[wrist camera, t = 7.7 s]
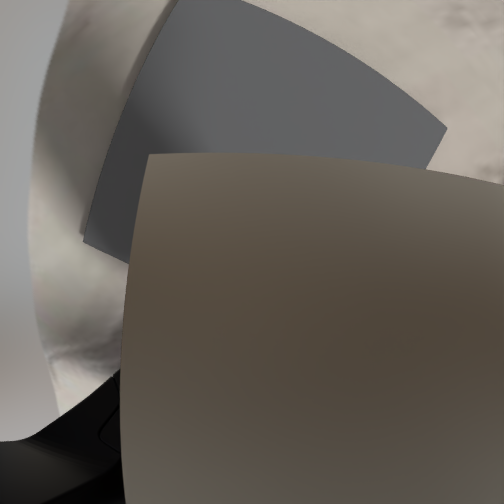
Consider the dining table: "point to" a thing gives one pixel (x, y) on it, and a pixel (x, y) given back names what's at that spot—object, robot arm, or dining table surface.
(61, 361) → the dining table surface
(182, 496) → the wooden block
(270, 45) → the charcoal mat
